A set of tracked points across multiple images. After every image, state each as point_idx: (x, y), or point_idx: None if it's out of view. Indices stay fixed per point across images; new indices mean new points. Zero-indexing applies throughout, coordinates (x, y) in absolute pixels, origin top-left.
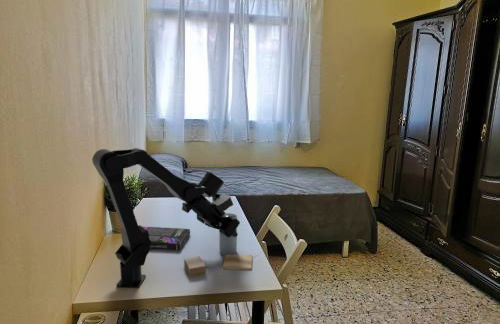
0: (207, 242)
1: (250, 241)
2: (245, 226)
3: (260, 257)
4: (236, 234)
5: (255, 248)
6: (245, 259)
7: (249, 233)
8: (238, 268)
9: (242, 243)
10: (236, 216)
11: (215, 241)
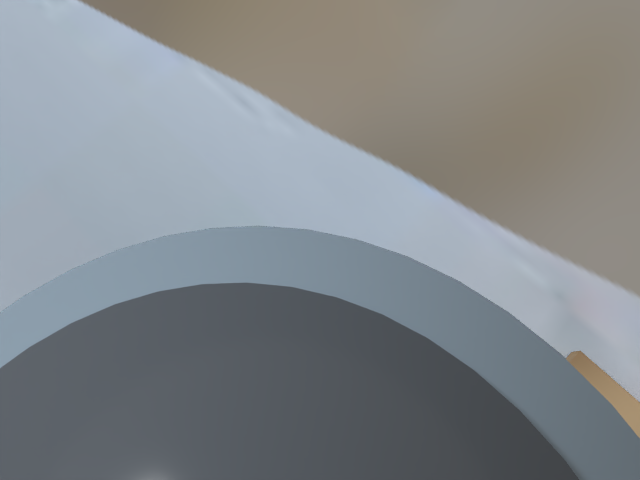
0: None
1: (316, 155)
2: (110, 24)
3: (620, 303)
4: None
5: (444, 212)
6: None
7: (210, 73)
8: None
9: (298, 223)
10: (569, 395)
11: None
